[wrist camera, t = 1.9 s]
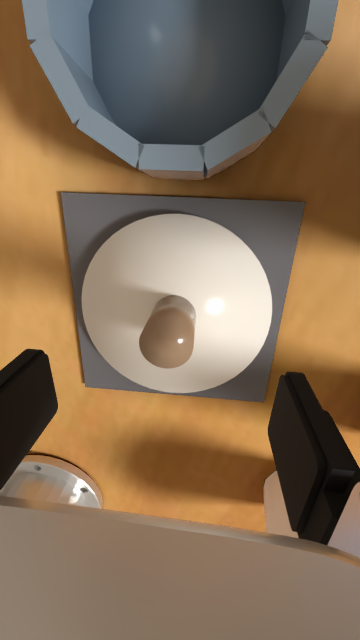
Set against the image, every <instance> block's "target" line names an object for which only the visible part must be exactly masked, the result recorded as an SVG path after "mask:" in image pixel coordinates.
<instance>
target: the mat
mask: <svg viewBox="0 0 360 640" xmlns="http://www.w3.org/2000/svg"><path fill="white" fill-rule="evenodd" d="M61 199H62V207H63V214H64V222H65V230H66V238H67V246H68V254H69V262H70V269H71V277H72V285H73V293H74V301H75V309H76V317H77V324H78V332H79V340H80V348H81V356H82V364H83V372H84V380H85V387H91V388H103V389H115V390H126V391H138V392H149V393H161V394H172V395H184V396H196V397H207V398H219V399H230V400H242V401H253V402H264V400H265V395H266V390H267V385H268V380H269V375H270V371H271V366H272V361H273V356H274V351H275V346H276V342H277V337H278V332H279V327H280V322H281V317H282V313H283V308H284V303H285V298H286V293H287V288H288V284H289V279H290V274H291V269H292V264H293V259H294V255H295V250H296V245H297V240H298V235H299V230H300V226H301V221H302V216H303V211H304V206H305V202H291V201H266V200H241V199H216V198H191V197H166V196H141V195H116V194H91V193H66V192H61ZM162 214H187V215H194V216H198V217H202V218H206V219H208V220H210V221H213V222H215V223H218V224H220V225H221V226H223V227H225V228H226V229H228V230H230V231H231V232H232V233H234V234H235V235H236V236H237V237H239V238H240V239H241V240H242V241H243V242H244V243H245V244H246V245H247V246H248V247H249V248H250V249H251V251H252V252H253V253H254V255H255V256H256V258H257V259H258V260H259V262H260V264H261V266H262V268H263V270H264V272H265V274H266V277H267V280H268V282H269V285H270V291H271V296H272V317H271V324H270V328H269V332H268V335H267V337H266V340H265V342H264V344H263V346H262V348H261V349H260V351H259V353H258V354H257V356H256V357H255V358H254V360H253V361H252V362H251V363H250V364H249V365H248V366H247V367H246V368H245V369H244V370H243V371H242V372H240V373H239V374H238V375H237V376H235V377H234V378H232V379H230V380H229V381H227V382H225V383H223V384H221V385H219V386H216V387H214V388H210V389H207V390H203V391H198V392H191V393H170V392H163V391H158V390H154V389H150V388H148V387H145V386H142V385H140V384H138V383H136V382H133V381H131V380H130V379H128V378H127V377H125V376H123V375H122V374H120V373H119V372H118V371H117V370H115V369H114V368H113V367H112V366H111V365H110V364H109V363H108V362H107V361H106V360H105V359H104V358H103V357H102V355H101V354H100V353H99V352H98V350H97V348H96V347H95V345H94V344H93V342H92V340H91V338H90V336H89V334H88V331H87V328H86V325H85V322H84V318H83V312H82V299H81V298H82V287H83V283H84V278H85V275H86V272H87V269H88V267H89V264H90V262H91V261H92V259H93V257H94V255H95V254H96V252H97V251H98V250H99V249H100V247H101V246H102V245H103V244H104V243H105V242H106V241H107V240H108V239H109V238H110V237H111V236H112V235H113V234H115V233H116V232H117V231H119V230H120V229H122V228H123V227H125V226H127V225H129V224H131V223H133V222H135V221H138V220H141V219H144V218H147V217H151V216H156V215H162Z"/></svg>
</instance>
